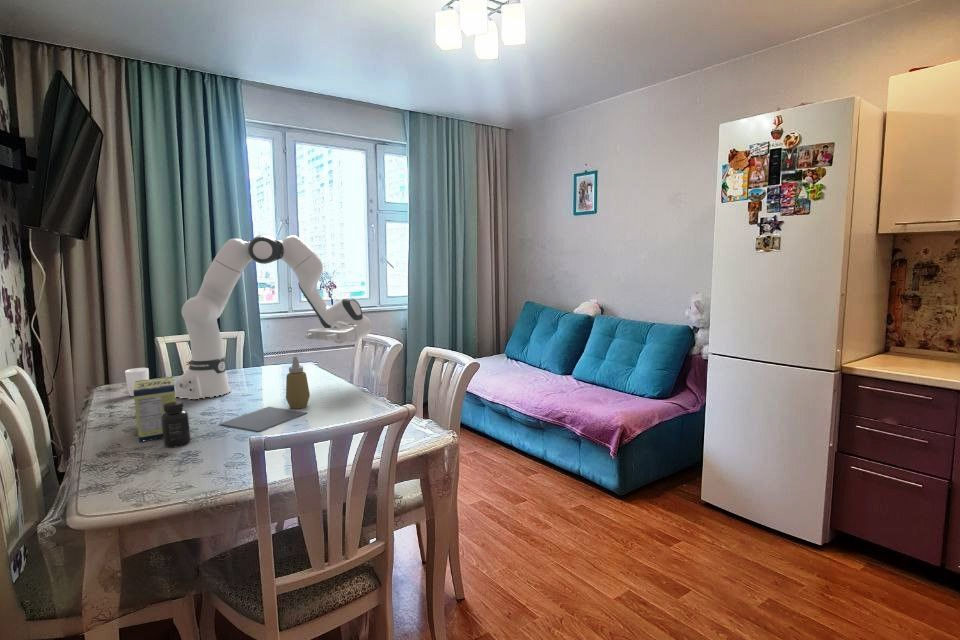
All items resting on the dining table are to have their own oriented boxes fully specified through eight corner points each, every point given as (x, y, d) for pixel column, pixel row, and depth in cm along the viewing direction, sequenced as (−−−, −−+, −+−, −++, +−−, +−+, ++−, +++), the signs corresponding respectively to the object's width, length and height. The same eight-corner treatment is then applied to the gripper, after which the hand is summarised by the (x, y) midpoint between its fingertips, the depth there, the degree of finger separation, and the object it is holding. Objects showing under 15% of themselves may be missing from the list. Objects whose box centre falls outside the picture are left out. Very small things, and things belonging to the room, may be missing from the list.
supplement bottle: (196, 439, 155) (192, 400, 153) (180, 448, 148) (176, 407, 147) (174, 439, 156) (170, 400, 154) (158, 447, 149) (153, 406, 147)
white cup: (154, 393, 210) (152, 368, 208) (133, 398, 203) (130, 373, 202) (144, 390, 214) (142, 366, 212) (123, 395, 207) (120, 370, 206)
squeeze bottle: (281, 409, 184) (277, 358, 182) (296, 402, 191) (293, 354, 189) (300, 410, 181) (296, 359, 179) (315, 404, 189) (312, 355, 186)
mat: (269, 407, 186) (268, 406, 186) (307, 413, 178) (307, 412, 178) (219, 424, 168) (218, 423, 168) (258, 432, 160) (258, 430, 160)
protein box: (177, 422, 172) (173, 375, 170) (179, 435, 159) (174, 385, 157) (139, 428, 167) (134, 380, 165) (138, 443, 153) (132, 391, 151)
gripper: (321, 323, 215) (295, 328, 203) (360, 325, 206) (336, 330, 194) (322, 338, 216) (296, 344, 204) (361, 340, 207) (337, 347, 195)
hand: (316, 337), depth 199 cm, fingers open, 8 cm apart
